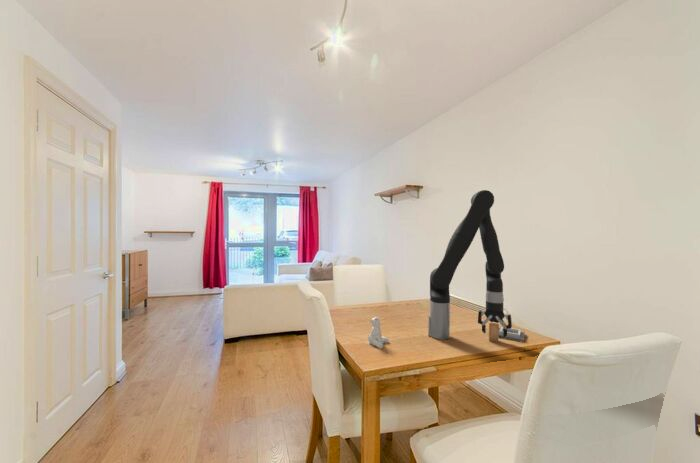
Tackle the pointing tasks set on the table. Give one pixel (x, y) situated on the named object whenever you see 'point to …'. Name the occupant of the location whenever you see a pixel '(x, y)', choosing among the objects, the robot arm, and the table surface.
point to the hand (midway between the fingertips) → (494, 334)
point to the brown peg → (493, 332)
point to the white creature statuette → (376, 334)
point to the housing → (512, 334)
